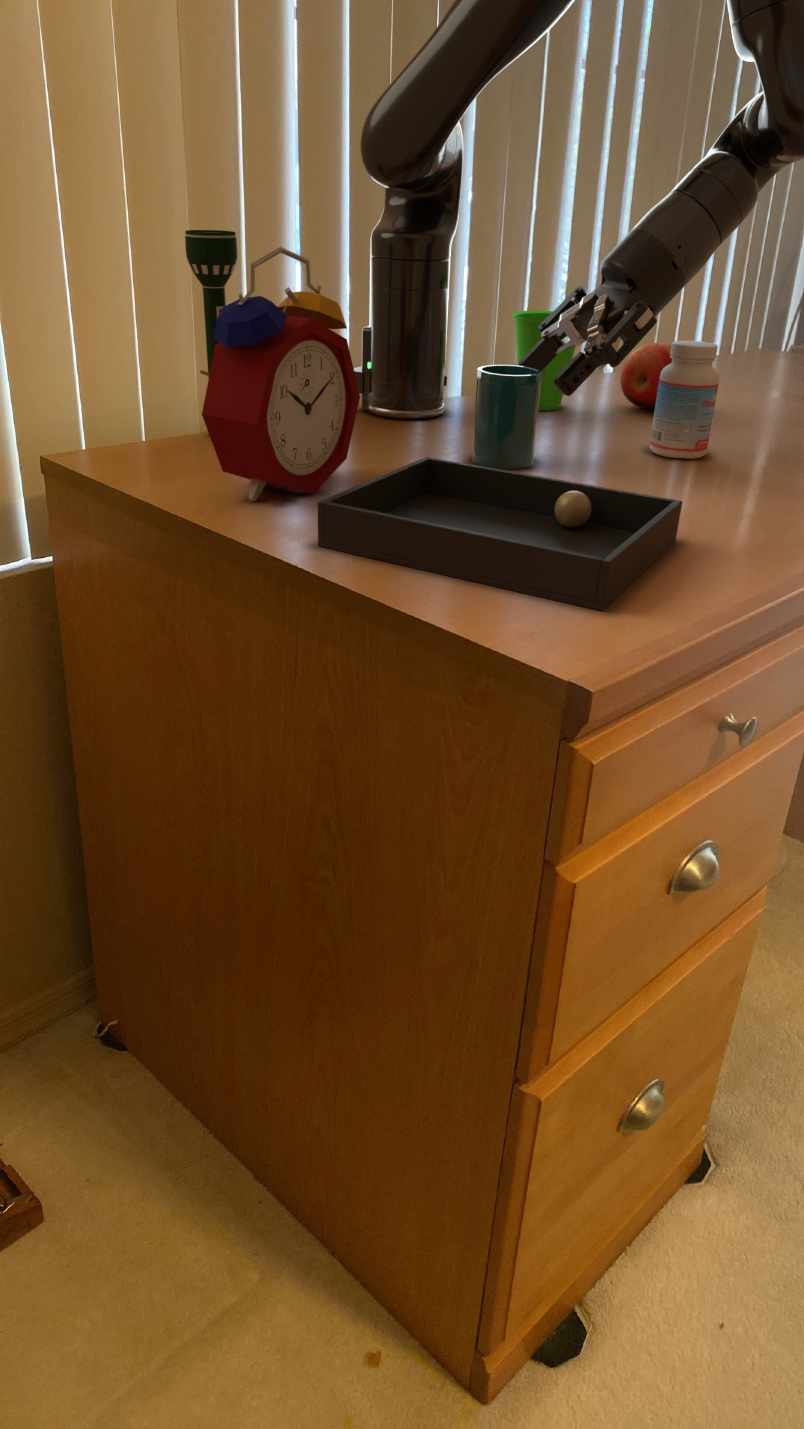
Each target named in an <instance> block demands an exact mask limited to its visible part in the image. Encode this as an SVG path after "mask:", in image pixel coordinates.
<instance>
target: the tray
mask: <svg viewBox="0 0 804 1429" xmlns="http://www.w3.org/2000/svg"><path fill="white" fill-rule="evenodd" d="M568 491H579V492H582V493H584V494H585V495H586V496H587V497H588V498H589V500H590V502H591V506H592V512H591V516H590V518H589V519H588V521H587V522H586V523H585V524H584V525H582V526H580V527H577V528H568V527H565V526H563V525H562V524H560V523H559V522H558V520H557V518H556V516H555V512H554V508H555V504H556V501H557V500H558V498H559V497H560V496H561V495H562V494H564V493H566V492H568ZM682 506H683V500H680V499H674V498H668V497H662V496H656V495H655V496H654V495H650V494H643V493H638V492H633V491H626V490H621V489H615V488H610V487H603V486H597V485H591V484H587V483H581V482H575V481H568V480H563V479H557V478H552V477H546V476H539V475H534V474H529V473H522V472H517V471H511V470H506V469H494V468H488V467H483V466H480V465H477V464H471V463H466V462H465V463H464V462H458V461H453V460H447V459H441V458H435V457H429V456H425V457H423V458H419V459H418V460H415V461H413V462H411V463H408V464H406V465H403V466H401V467H398V468H396V469H394V470H392V471H389V472H386V473H384V474H382V475H379V476H377V477H374V478H372V479H370V480H367V481H365V482H362V483H360V484H358V485H355V486H352V487H351V488H348V489H345V490H344V491H341V492H339V493H336V494H333V495H331V496H329V497H326V498H324V499H322V500H319V501H318V502H317V546H318V547H321V548H324V549H330V550H334V551H337V552H339V551H340V552H341V553H342V552H343V553H346V554H347V553H348V554H351V555H355V556H360V557H364V558H367V559H373V560H377V561H382V562H386V563H389V564H390V563H391V564H394V565H399V566H404V567H407V568H413V569H416V570H421V571H424V572H425V571H426V572H430V573H435V574H439V575H443V576H447V577H451V578H457V579H461V580H465V581H470V582H474V583H479V584H482V585H485V586H486V585H487V586H491V587H496V588H500V589H504V590H509V591H513V592H517V593H522V594H526V595H530V596H535V597H538V598H544V599H548V600H552V601H555V602H556V601H557V602H561V603H564V604H570V605H573V606H579V607H583V608H586V609H587V608H588V609H591V610H595V611H600V612H604V611H605V610H606V609H607V608H608V607H609V606H611V605H612V603H613V602H615V601H616V600H617V599H618V597H620V596H621V595H622V594H623V593H624V592H625V591H626V590H627V589H628V588H629V587H630V586H632V585H633V583H634V582H636V581H637V580H638V579H639V578H640V577H641V576H642V575H643V574H644V573H645V572H646V571H648V569H649V568H651V566H653V564H655V563H656V562H657V561H658V560H659V559H660V558H662V556H663V555H664V554H666V552H668V550H670V549H671V548H672V547H673V546H674V545H675V544H676V542H677V535H678V529H679V523H680V519H681V512H682Z"/></svg>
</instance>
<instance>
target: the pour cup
mask: <svg viewBox="0 0 804 1429" xmlns="http://www.w3.org/2000/svg"><path fill="white" fill-rule="evenodd" d="M541 375H542V371H540V370H538V369H536V368H531V367H525V366H518V365H517V364H516V365H515V364H514V365H512V364H489V365H483V366H479V367H477V369H476V386H475V387H476V389H475V402H474V403H475V405H474V420H473V434H472V435H473V436H472V451H471V461H472V463H473V464H474V465H476V466H482V467H488V468H494V469H500V470H522V469H526V468H530V467H532V466H533V464H534V458H535V457H534V456H535V446H536V438H537V437H536V436H537V427H538V426H537V425H538V417H539V416H538V415H539V410H538V406H539V396H540V385H541Z"/></svg>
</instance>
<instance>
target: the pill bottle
mask: <svg viewBox="0 0 804 1429" xmlns="http://www.w3.org/2000/svg"><path fill="white" fill-rule="evenodd" d="M671 345H672V347H671V352H670V354H671V356H670V357H671V358H672V363H671V364H669V365H667V366H666V367H664V368H663V370H662V371H661V374H660V379H659V386H658V392H657V399H656V405H655V408H654V412H653V419H652V424H651V425H652V426H651V431H650V440H649V446H648V447H649V450H650V451H651V452H652V453H653V454H656V455H658V456H661V457H665V458H670V459H671V458H672V459H673V458H674V459H686V460H687V459H689V460H690V459H691V460H692V459H699V458H702V457H704V456H705V455H707V451H708V447H709V442H710V435H711V429H712V424H713V418H714V413H715V407H716V402H717V396H718V389H719V385H720V374H719V371H718V370H717V369H716V368H715V367H714V366H713V362H715V361H716V358H717V354H718V347H719V346H718V344H717V343H713V342H707V341H699V340H697V341H696V340H675V341H672V343H671Z"/></svg>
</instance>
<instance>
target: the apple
mask: <svg viewBox="0 0 804 1429" xmlns="http://www.w3.org/2000/svg"><path fill="white" fill-rule="evenodd" d="M671 347H672V344H670V343H665V342H651V343H647V344H644V345H642V346H639V347H638V348H637V349H635V350H633V352H632V353H631V354H629V356H628V357H627V358H626V359H625V361H624V364H623V366H622V369H621V373H620V378H619V380H620V389H621V391H622V393H623V395H624V397H625V398H626V400H627V401H628V402H630V404H632V405H634V406H635V407H638V408H641V409H647V410H649V409H655V405H656V399H657V392H658V386H659V379H660V374H661V371H662V370H663V368H664V367H666V366H667V365H669V364H671V363H672V358H671V357H670V356H671V354H670V352H671Z"/></svg>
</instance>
